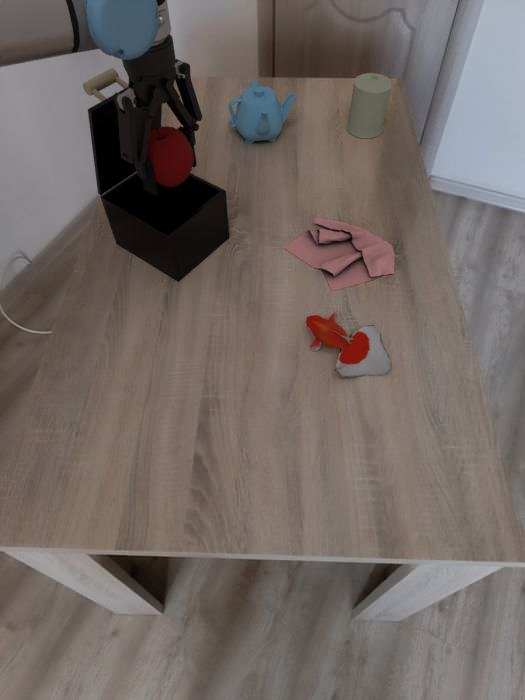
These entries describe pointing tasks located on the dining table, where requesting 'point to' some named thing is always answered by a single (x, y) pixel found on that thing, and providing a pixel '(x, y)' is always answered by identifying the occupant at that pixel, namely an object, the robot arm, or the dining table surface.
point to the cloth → (344, 253)
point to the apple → (170, 156)
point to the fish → (351, 346)
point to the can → (369, 105)
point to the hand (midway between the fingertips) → (171, 177)
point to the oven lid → (109, 132)
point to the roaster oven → (168, 222)
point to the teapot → (259, 113)
